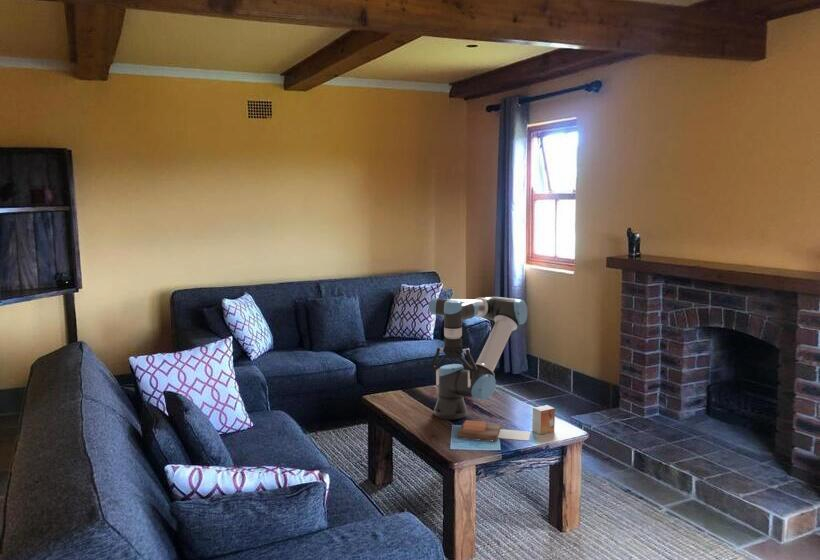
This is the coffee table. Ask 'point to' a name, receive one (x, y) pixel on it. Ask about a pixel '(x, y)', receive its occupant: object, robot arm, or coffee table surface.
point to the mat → (514, 435)
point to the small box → (543, 419)
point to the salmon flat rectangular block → (475, 425)
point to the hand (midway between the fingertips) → (453, 385)
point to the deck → (481, 432)
